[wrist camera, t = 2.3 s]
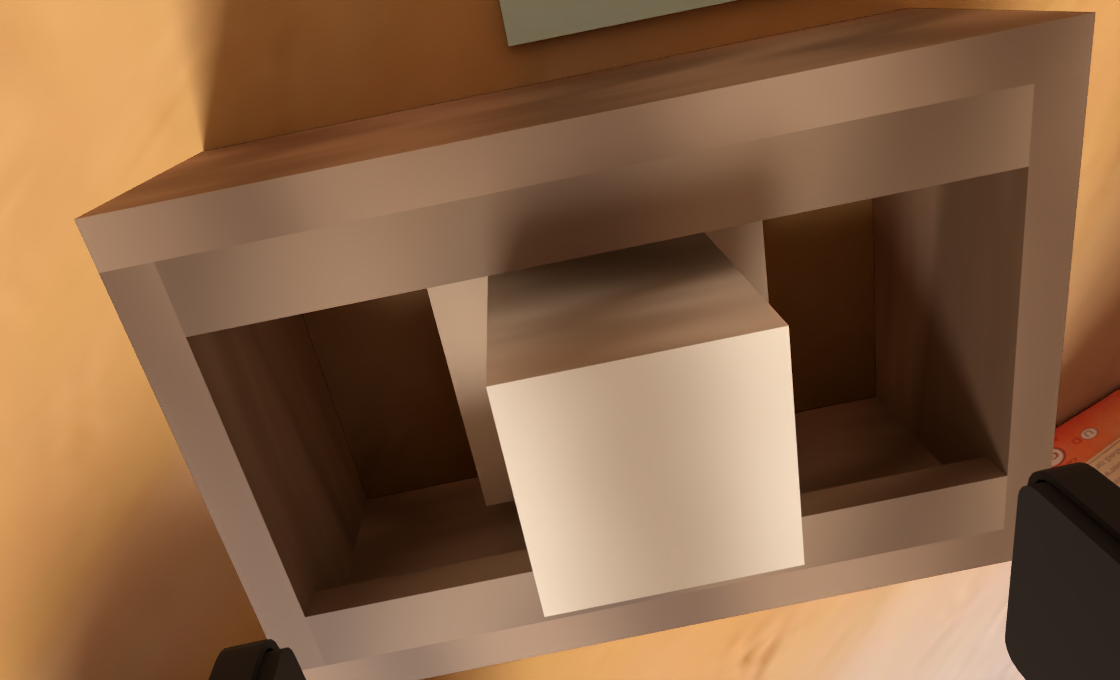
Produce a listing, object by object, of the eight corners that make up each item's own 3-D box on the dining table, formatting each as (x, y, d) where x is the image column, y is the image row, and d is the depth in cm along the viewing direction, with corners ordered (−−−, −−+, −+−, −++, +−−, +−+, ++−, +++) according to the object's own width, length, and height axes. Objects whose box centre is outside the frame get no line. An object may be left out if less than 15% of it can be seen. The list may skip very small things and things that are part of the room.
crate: (909, 7, 19) (1095, 12, 13) (908, 418, 24) (1043, 554, 18) (202, 151, 19) (73, 219, 13) (345, 531, 24) (297, 704, 18)
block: (698, 226, 18) (789, 325, 12) (719, 410, 20) (804, 564, 15) (488, 268, 18) (485, 386, 13) (530, 447, 20) (544, 617, 15)
